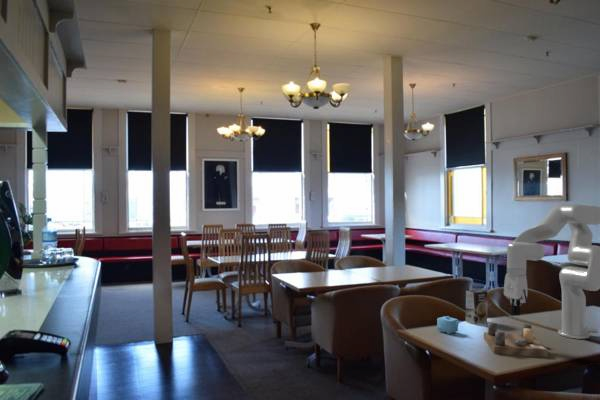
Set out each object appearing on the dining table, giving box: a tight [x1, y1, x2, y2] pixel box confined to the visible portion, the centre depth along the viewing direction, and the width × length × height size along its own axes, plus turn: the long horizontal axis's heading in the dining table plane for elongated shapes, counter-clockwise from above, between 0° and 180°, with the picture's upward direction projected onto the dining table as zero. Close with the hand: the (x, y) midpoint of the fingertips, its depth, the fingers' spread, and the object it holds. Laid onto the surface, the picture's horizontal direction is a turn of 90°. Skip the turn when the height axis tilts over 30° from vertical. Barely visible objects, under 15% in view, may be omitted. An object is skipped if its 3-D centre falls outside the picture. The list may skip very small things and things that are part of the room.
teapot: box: [436, 315, 462, 335], centre depth 212 cm, size 12×6×8 cm, turn 41°
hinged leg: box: [515, 328, 534, 345], centre depth 186 cm, size 10×4×5 cm, turn 123°
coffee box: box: [465, 289, 488, 325], centre depth 230 cm, size 9×6×16 cm
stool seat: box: [483, 321, 549, 358], centre depth 191 cm, size 20×20×8 cm
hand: (515, 314), depth 195 cm, fingers closed
